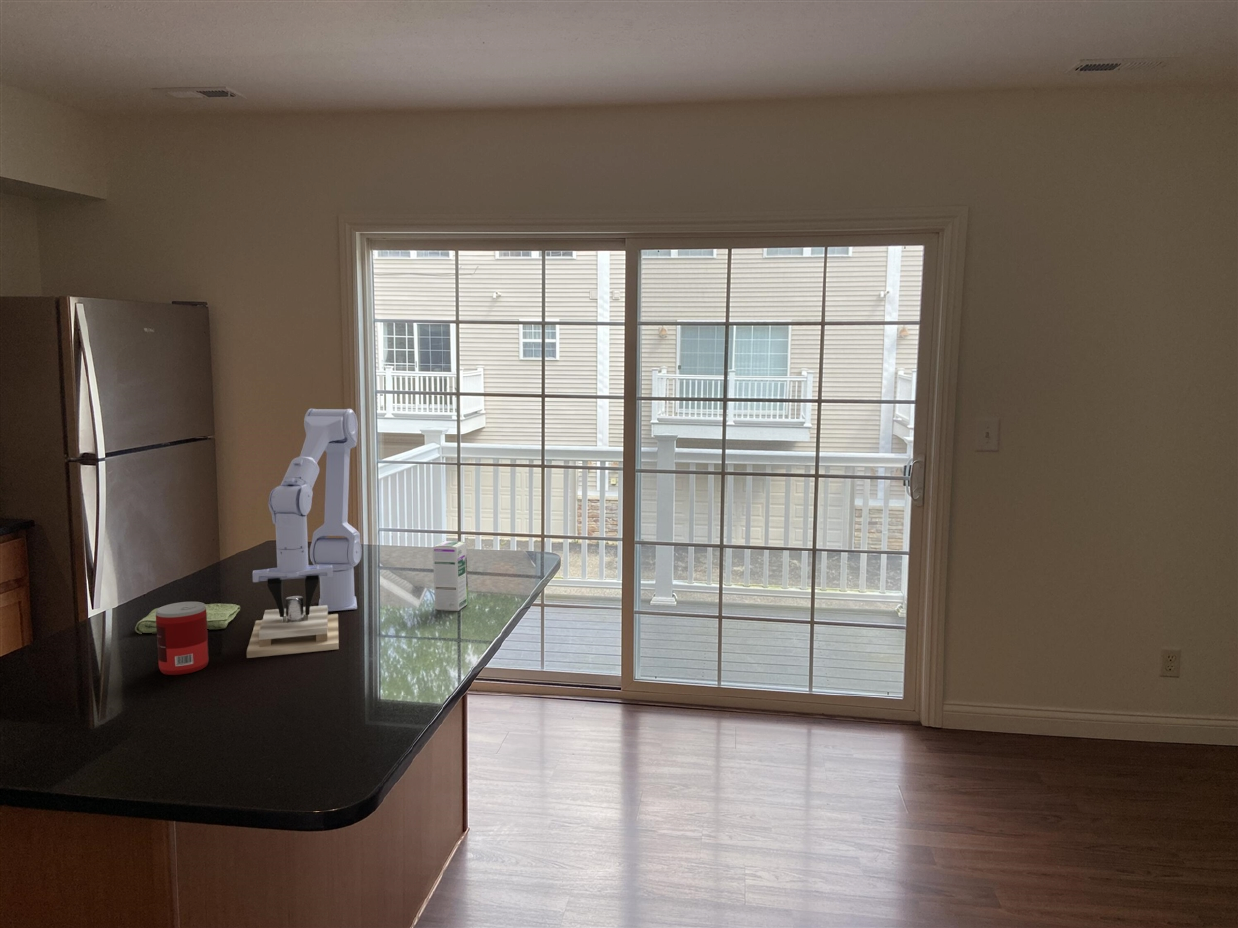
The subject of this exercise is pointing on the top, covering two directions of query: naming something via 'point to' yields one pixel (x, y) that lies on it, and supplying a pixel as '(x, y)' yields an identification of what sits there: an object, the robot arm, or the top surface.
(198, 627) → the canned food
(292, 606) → the tube
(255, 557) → the top surface
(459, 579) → the syrup box
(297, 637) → the collar stand
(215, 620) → the washcloth
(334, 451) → the robot arm
